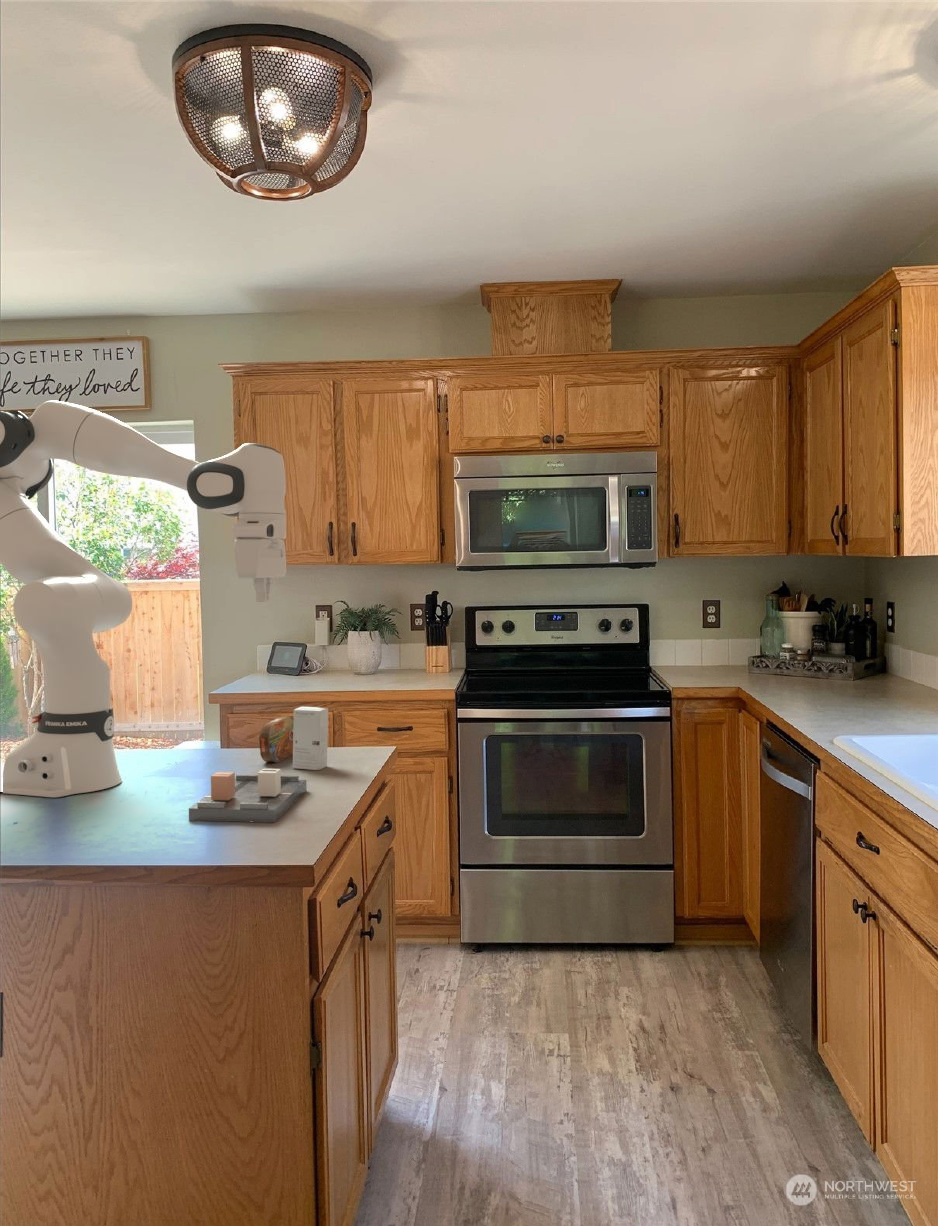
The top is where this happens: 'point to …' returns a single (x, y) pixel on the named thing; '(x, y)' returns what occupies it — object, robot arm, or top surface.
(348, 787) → the top surface
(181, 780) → the top surface
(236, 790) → the panel
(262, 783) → the fader
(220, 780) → the fader
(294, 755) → the skincare box
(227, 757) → the top surface
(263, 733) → the tin
